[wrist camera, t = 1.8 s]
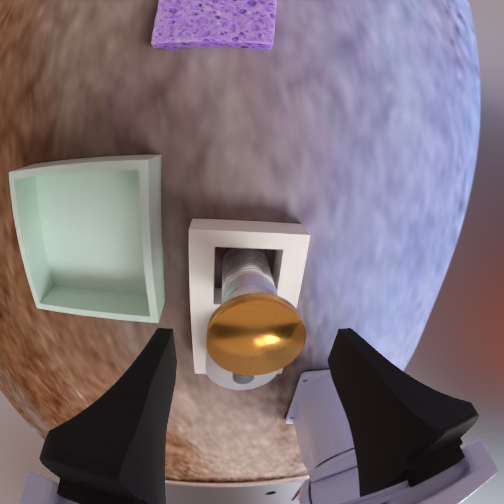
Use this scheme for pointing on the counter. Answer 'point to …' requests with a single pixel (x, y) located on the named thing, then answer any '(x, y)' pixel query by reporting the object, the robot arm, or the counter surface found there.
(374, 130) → the counter surface
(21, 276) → the counter surface
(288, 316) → the pin
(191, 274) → the block
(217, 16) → the sponges
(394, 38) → the counter surface
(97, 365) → the counter surface
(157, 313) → the tray
